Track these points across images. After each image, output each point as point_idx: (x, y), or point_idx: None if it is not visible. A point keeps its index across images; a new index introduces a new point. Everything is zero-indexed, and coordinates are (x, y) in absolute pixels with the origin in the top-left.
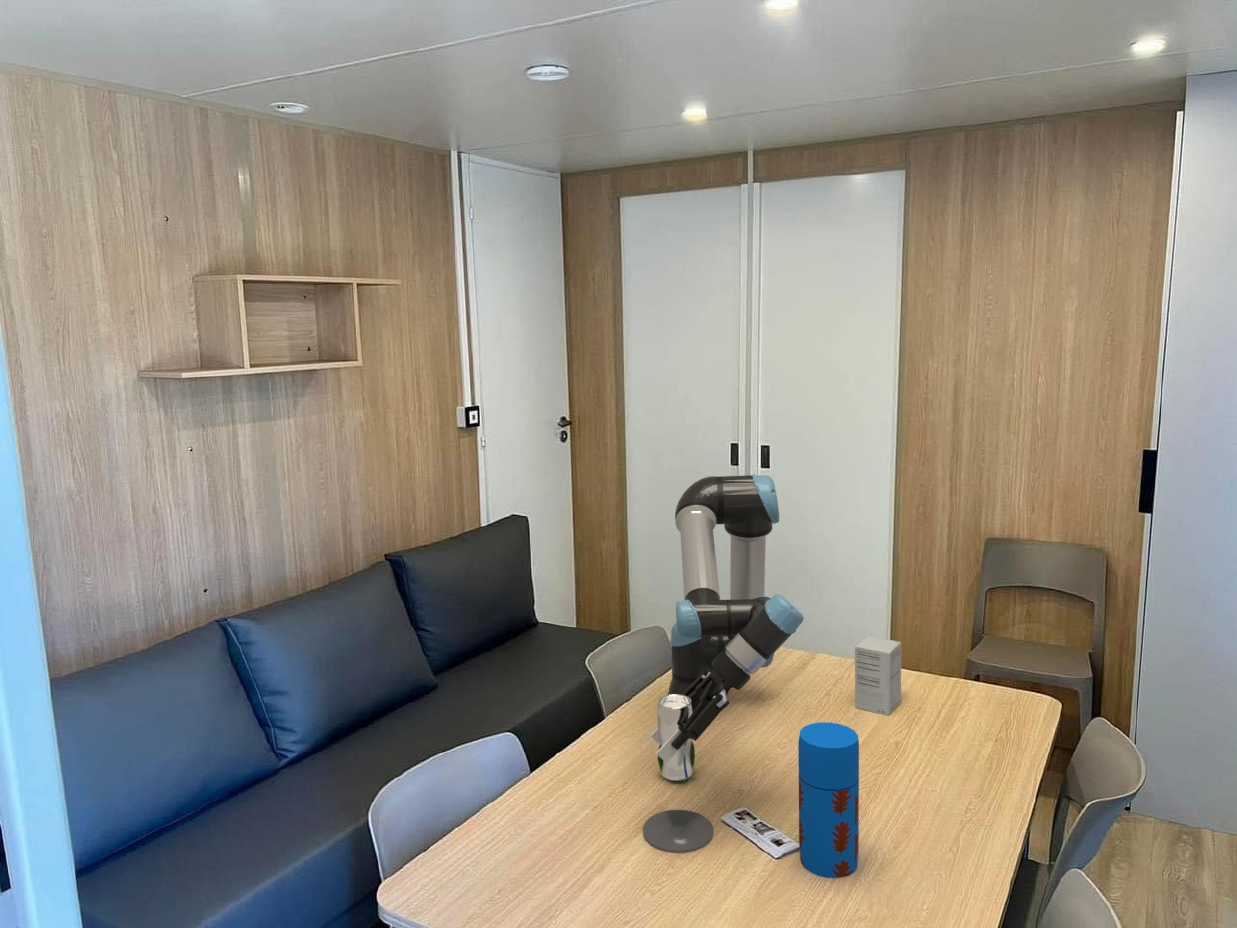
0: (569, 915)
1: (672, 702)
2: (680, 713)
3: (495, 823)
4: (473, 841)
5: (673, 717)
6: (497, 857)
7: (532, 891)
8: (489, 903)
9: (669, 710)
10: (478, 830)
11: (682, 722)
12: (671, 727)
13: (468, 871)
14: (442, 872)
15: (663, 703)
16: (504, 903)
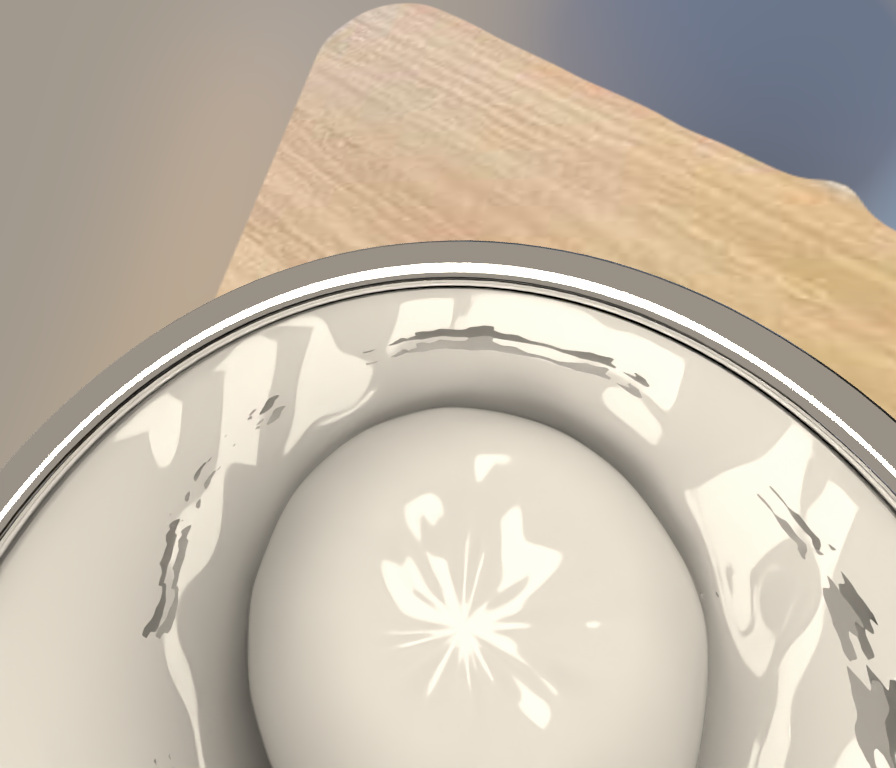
0: (241, 255)
1: (856, 731)
2: (15, 757)
3: (595, 125)
4: (530, 95)
5: (140, 556)
6: (463, 136)
7: (334, 196)
8: (323, 133)
9: (78, 477)
10: (571, 99)
11: (163, 707)
12: (254, 515)
13: (428, 96)
14: (436, 61)
15: (747, 475)
16: (315, 154)
